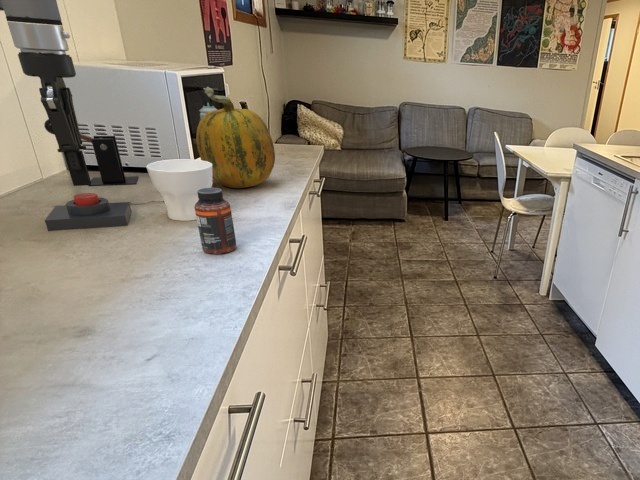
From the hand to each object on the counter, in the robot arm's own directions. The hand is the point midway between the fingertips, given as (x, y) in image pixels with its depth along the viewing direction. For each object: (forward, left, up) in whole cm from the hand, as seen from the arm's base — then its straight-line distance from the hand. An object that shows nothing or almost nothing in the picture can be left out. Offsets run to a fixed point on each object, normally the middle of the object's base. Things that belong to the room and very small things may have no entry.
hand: (82, 184), depth 94 cm
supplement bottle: (+31, -10, -8) cm, 33 cm away
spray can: (+5, +46, -8) cm, 47 cm away
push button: (0, 0, -4) cm, 4 cm away
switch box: (0, 0, -8) cm, 8 cm away
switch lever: (-18, +24, +3) cm, 30 cm away
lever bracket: (-13, +27, -8) cm, 31 cm away
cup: (+16, +8, -8) cm, 19 cm away
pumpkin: (+16, +36, -8) cm, 40 cm away
